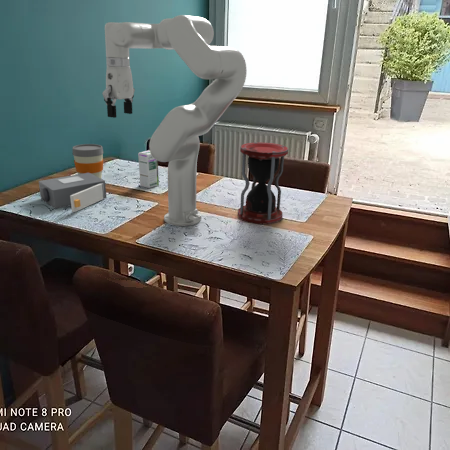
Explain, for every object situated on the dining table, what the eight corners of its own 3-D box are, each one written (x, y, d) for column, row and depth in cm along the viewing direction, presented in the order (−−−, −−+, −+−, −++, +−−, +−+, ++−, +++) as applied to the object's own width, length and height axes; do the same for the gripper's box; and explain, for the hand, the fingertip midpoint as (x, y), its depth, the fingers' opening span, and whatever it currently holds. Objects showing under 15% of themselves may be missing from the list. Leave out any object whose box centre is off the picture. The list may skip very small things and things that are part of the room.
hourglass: (230, 210, 158) (233, 143, 149) (270, 206, 164) (275, 141, 154) (248, 227, 144) (252, 153, 135) (290, 221, 150) (297, 151, 140)
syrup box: (149, 188, 180) (147, 154, 174) (139, 185, 183) (137, 151, 177) (159, 185, 184) (158, 152, 178) (149, 182, 187) (148, 149, 182)
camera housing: (106, 198, 167) (105, 180, 164) (52, 209, 154) (49, 190, 151) (90, 189, 177) (88, 172, 174) (37, 199, 163) (35, 181, 161)
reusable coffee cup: (109, 178, 192) (107, 144, 186) (99, 186, 180) (96, 151, 174) (82, 176, 193) (79, 143, 187) (70, 184, 181) (66, 149, 175)
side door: (107, 198, 165) (106, 183, 163) (76, 212, 150) (75, 196, 148) (102, 197, 166) (101, 182, 163) (71, 211, 151) (69, 195, 149)
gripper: (112, 64, 135) (114, 120, 142) (141, 63, 150) (142, 113, 157) (92, 63, 137) (95, 117, 144) (123, 61, 152) (125, 111, 159)
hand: (120, 115), depth 150 cm, fingers open, 9 cm apart
